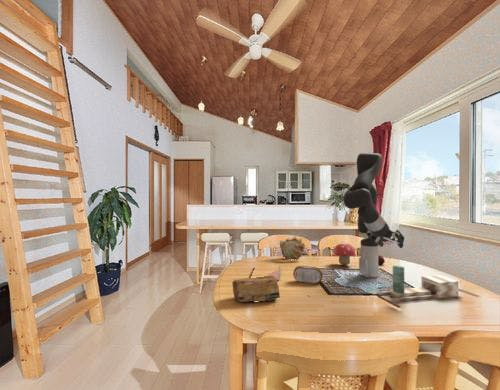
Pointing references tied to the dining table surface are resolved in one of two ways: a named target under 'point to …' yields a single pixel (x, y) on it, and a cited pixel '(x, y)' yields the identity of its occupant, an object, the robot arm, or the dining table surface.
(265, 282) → the petrified wood
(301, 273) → the tin
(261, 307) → the dining table surface
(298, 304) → the dining table surface
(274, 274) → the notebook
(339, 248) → the decorative mushroom
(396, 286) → the block with teal grip
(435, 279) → the tunnel track
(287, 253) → the olive rough rounded lump
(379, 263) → the potato
